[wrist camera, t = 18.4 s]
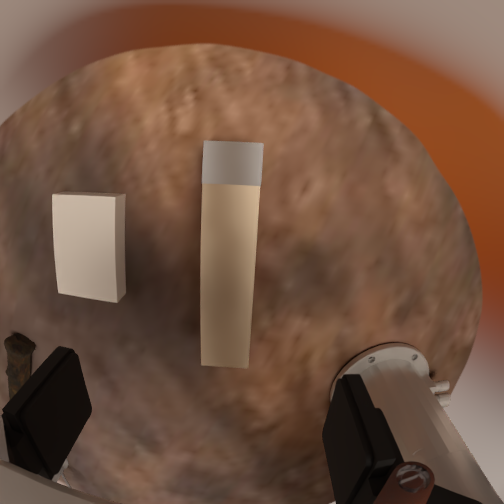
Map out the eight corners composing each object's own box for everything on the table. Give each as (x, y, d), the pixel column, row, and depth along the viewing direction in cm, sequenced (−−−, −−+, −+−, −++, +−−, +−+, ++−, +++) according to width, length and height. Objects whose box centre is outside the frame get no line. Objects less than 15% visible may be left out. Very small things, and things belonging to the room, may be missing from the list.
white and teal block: (127, 291, 31) (127, 193, 29) (117, 303, 29) (115, 196, 26) (71, 283, 31) (67, 191, 28) (58, 292, 28) (52, 194, 26)
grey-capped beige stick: (261, 147, 27) (263, 143, 21) (249, 333, 32) (248, 368, 26) (214, 144, 27) (203, 140, 21) (209, 330, 32) (200, 365, 26)
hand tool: (17, 327, 33) (-3, 343, 28) (39, 343, 33) (20, 361, 29) (14, 406, 38) (1, 422, 33) (32, 419, 38) (20, 437, 34)
